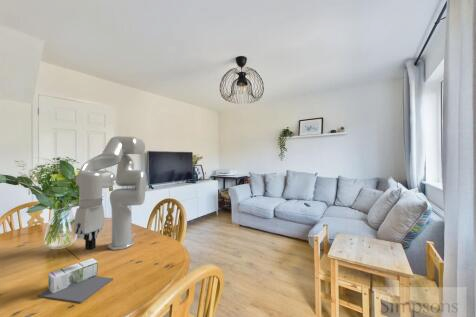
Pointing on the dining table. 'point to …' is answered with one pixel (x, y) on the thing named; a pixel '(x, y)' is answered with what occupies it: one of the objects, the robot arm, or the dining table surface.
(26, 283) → the dining table surface
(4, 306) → the dining table surface
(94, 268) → the syrup box
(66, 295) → the mat
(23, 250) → the dining table surface
